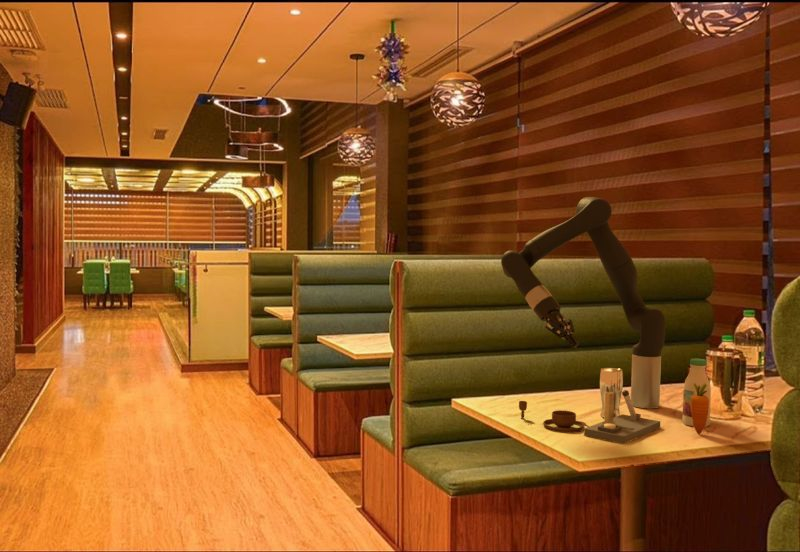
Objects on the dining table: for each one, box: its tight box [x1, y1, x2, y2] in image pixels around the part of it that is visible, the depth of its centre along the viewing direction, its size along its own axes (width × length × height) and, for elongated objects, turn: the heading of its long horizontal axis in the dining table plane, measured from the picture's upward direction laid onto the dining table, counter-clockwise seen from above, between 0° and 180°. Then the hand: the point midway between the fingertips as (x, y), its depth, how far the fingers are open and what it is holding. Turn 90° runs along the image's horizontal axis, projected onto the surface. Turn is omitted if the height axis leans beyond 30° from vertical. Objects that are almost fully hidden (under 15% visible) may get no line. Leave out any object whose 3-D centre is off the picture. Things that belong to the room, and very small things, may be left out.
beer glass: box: [599, 367, 624, 419], centre depth 232 cm, size 7×7×15 cm
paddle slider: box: [602, 392, 615, 424], centre depth 214 cm, size 3×2×9 cm
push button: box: [604, 423, 616, 429], centre depth 209 cm, size 3×3×1 cm
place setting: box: [518, 400, 590, 433], centre depth 223 cm, size 18×20×6 cm
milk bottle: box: [682, 357, 712, 428], centre depth 224 cm, size 8×8×20 cm
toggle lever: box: [621, 389, 637, 416], centre depth 222 cm, size 2×2×9 cm
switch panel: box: [583, 412, 661, 445], centre depth 215 cm, size 24×12×4 cm, turn 137°
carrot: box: [691, 383, 709, 435], centre depth 213 cm, size 5×5×15 cm
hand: (576, 346), depth 224 cm, fingers closed
